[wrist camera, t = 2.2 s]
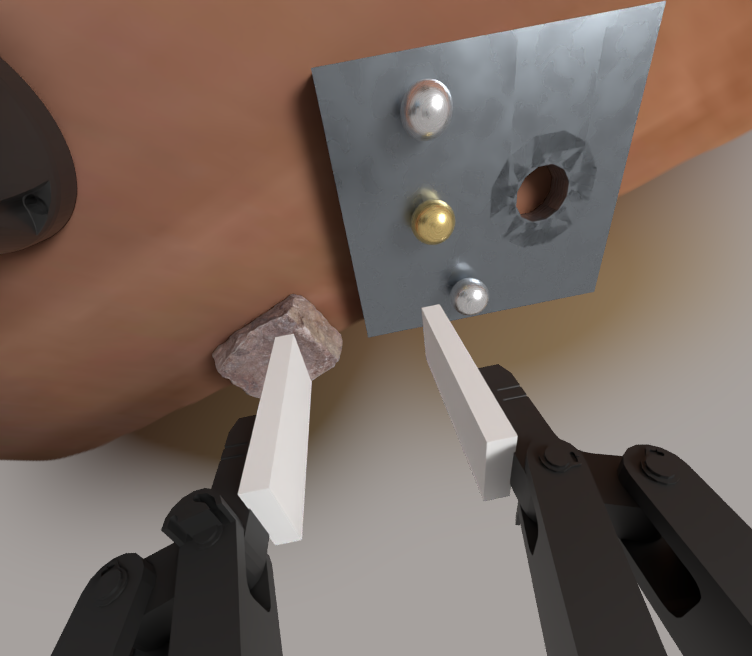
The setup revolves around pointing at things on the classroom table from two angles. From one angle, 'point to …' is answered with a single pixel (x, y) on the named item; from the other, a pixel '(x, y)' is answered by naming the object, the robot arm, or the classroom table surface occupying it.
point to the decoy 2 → (469, 296)
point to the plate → (487, 161)
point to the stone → (255, 343)
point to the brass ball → (433, 222)
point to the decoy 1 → (426, 109)
